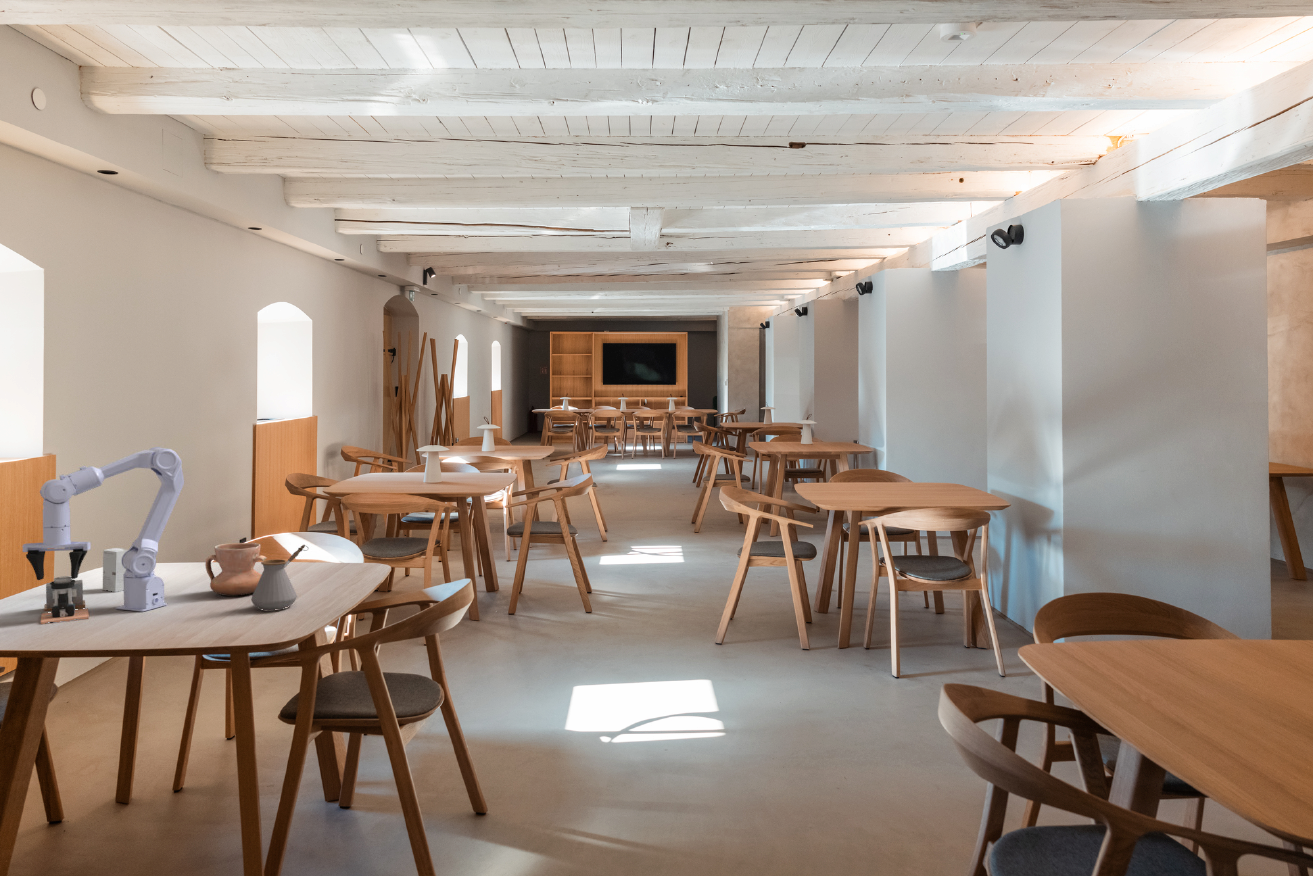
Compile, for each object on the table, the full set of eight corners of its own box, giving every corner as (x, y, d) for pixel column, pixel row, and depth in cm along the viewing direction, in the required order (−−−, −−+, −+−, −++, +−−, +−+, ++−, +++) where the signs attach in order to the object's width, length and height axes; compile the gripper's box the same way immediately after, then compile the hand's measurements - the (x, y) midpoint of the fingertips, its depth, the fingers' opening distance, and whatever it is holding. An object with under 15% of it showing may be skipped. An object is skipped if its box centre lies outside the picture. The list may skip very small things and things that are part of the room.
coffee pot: (281, 614, 224) (281, 558, 223) (242, 612, 226) (241, 556, 225) (324, 595, 245) (323, 544, 244) (287, 594, 247) (287, 543, 246)
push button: (43, 620, 213) (42, 581, 212) (45, 615, 217) (44, 577, 217) (75, 617, 216) (74, 578, 215) (76, 612, 221) (76, 574, 220)
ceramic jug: (278, 588, 254) (278, 541, 253) (251, 599, 239) (251, 550, 239) (221, 586, 255) (221, 540, 254) (191, 597, 241) (191, 548, 240)
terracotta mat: (88, 618, 217) (88, 616, 217) (40, 624, 211) (40, 622, 211) (87, 610, 225) (87, 608, 225) (41, 615, 219) (41, 613, 219)
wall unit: (85, 608, 227) (84, 583, 226) (44, 613, 222) (43, 587, 221) (84, 604, 232) (84, 579, 231) (44, 608, 226) (44, 583, 226)
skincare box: (101, 590, 248) (101, 549, 248) (116, 587, 252) (115, 547, 252) (115, 592, 246) (114, 551, 245) (130, 589, 250) (129, 549, 250)
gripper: (94, 523, 221) (95, 574, 222) (31, 524, 217) (32, 576, 218) (84, 527, 214) (84, 580, 215) (18, 528, 210) (19, 582, 211)
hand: (57, 578), depth 216 cm, fingers open, 7 cm apart
